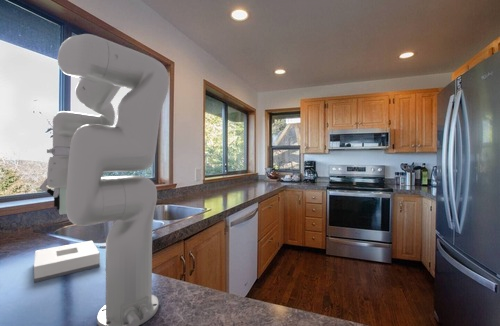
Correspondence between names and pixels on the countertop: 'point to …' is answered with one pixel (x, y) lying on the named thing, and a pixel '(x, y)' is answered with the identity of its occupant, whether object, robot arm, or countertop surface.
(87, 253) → the block
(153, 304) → the robot arm
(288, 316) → the countertop surface
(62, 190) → the pale green block
